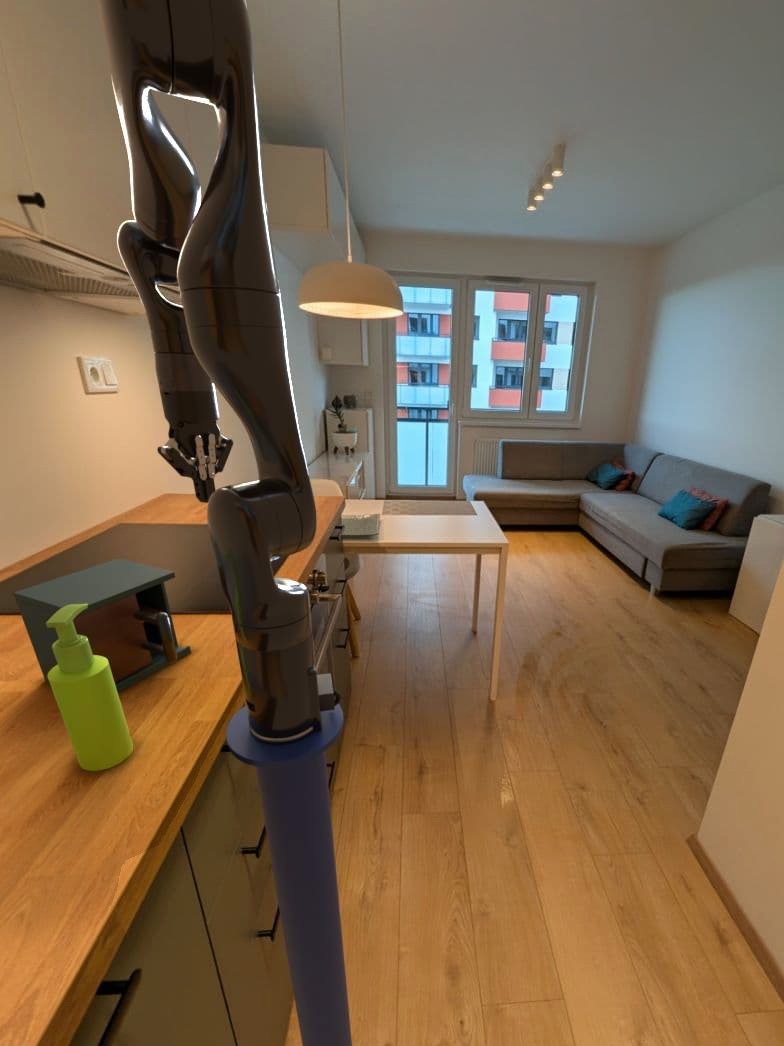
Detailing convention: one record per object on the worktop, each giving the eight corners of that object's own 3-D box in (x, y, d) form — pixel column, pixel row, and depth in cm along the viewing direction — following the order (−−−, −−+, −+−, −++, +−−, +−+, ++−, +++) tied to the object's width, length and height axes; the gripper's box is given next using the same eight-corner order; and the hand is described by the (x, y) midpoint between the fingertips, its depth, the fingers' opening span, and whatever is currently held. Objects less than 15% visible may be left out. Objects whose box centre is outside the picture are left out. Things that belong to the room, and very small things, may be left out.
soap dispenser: (143, 732, 69) (105, 599, 60) (122, 768, 63) (77, 626, 54) (95, 735, 68) (50, 601, 59) (69, 773, 62) (15, 629, 53)
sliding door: (183, 673, 80) (167, 600, 75) (122, 710, 72) (98, 630, 66) (148, 661, 83) (129, 590, 78) (85, 695, 74) (59, 618, 69)
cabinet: (191, 652, 88) (174, 571, 81) (101, 702, 74) (72, 611, 68) (138, 635, 92) (118, 558, 86) (44, 680, 79) (12, 592, 72)
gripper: (204, 385, 83) (221, 490, 90) (128, 387, 71) (155, 507, 79) (239, 387, 80) (254, 496, 87) (167, 389, 69) (190, 514, 76)
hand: (207, 501), depth 83 cm, fingers closed
